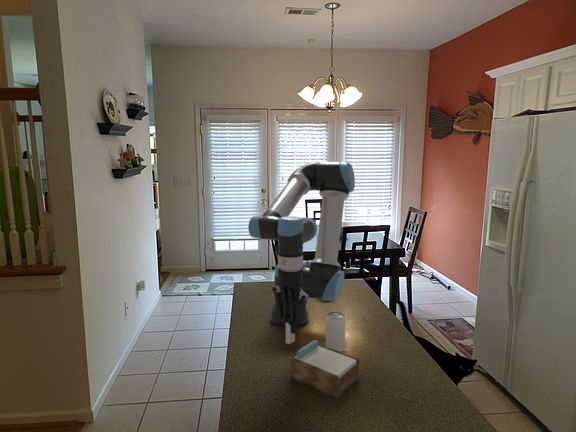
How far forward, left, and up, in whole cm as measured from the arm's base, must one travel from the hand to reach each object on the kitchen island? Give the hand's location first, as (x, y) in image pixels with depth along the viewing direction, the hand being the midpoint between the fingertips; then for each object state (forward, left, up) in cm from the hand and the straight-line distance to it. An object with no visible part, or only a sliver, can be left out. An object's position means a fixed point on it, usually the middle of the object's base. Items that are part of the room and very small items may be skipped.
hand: (290, 341), depth 121 cm
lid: (+13, 0, -2) cm, 13 cm away
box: (+13, 0, -7) cm, 15 cm away
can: (+6, +17, -8) cm, 20 cm away
